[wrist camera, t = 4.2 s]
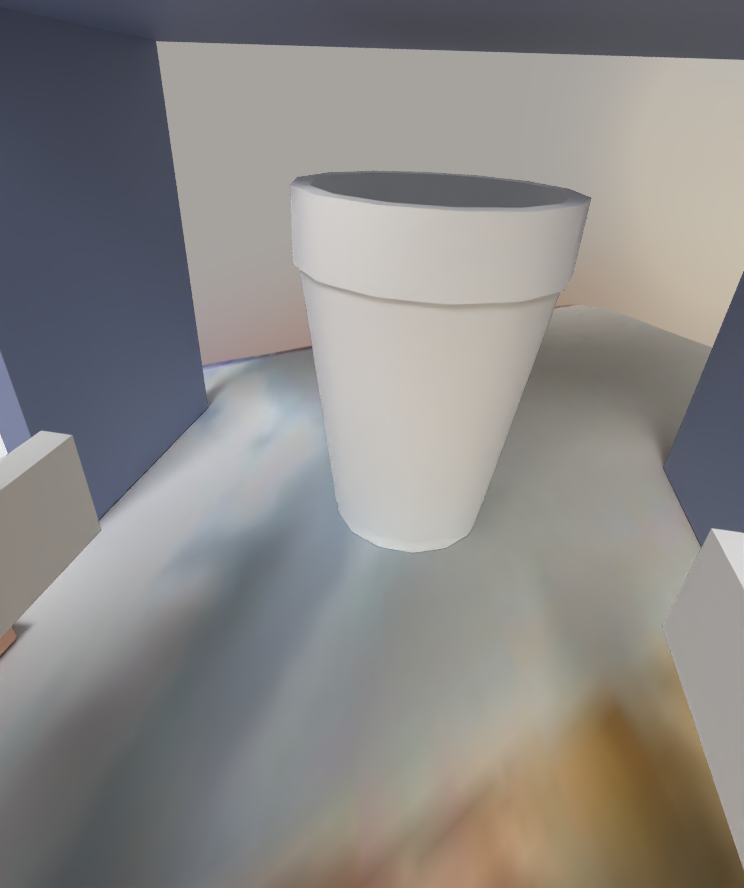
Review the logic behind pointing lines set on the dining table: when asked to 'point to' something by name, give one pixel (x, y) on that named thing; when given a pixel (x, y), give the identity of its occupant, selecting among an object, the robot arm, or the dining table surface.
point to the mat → (7, 640)
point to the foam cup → (425, 333)
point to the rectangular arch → (160, 227)
